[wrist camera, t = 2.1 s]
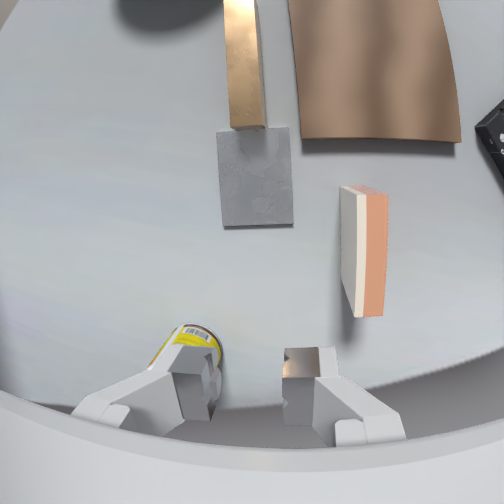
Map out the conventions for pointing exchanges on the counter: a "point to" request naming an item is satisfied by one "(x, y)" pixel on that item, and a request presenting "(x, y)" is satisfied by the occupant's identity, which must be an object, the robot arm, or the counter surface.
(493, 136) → the disk drive
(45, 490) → the robot arm
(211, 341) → the supplement bottle
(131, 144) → the counter surface
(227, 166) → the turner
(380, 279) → the tile
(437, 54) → the board
